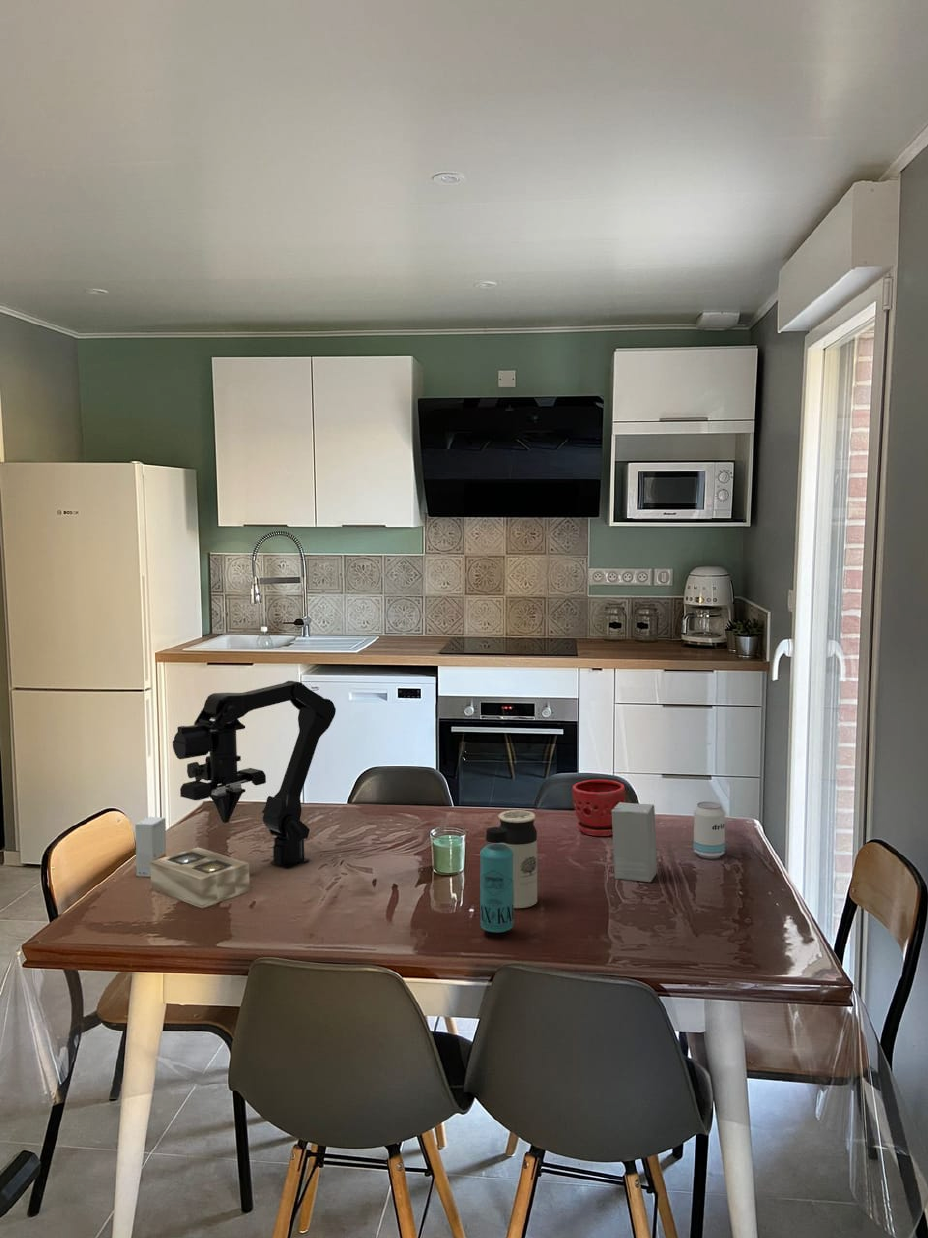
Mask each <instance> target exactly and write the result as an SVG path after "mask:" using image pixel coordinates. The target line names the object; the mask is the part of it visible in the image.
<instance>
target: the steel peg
mask: <svg viewBox="0 0 928 1238" xmlns="http://www.w3.org/2000/svg"><path fill="white" fill-rule="evenodd" d="M195 859H197V858H196V857H195V856H184V857H180V858H178V859H177V861H179V862H182V863H186V862H189V861H192V860H195Z"/></svg>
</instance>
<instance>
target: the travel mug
mask: <svg viewBox="0 0 928 1238" xmlns="http://www.w3.org/2000/svg"><path fill="white" fill-rule="evenodd" d="M498 819H499V822H500V823H499V827H503V828H506V829H507V833H508V841H507V842H504V843H497V844H504V845H507V846H508V847H509V848H510V849H511V850H512V851H513V852H514V856H513V881H514V909H526V908H530V907H532V906H534V905H535V904H537V902H538V830H537V829H536V826H535V824H534V822H535V819H536V814H535V813H534V812H531V811H529V810H528V811H527V810H521V809H519V810H517V809H512V810H506V811H502V812H500V813H499V814H498Z"/></svg>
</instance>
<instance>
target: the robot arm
mask: <svg viewBox="0 0 928 1238" xmlns="http://www.w3.org/2000/svg"><path fill="white" fill-rule="evenodd" d="M284 702H285V703H286V702H290V703H291V704H292V706H293V707H294V708H296V709H297V710H298V715H297V716H298V717H297V723H298V730H299V731H298V735H297V738H296V741H295V743H294V747H293V750H292V753H291V755H290V759H289V762H288V765H287V768H286V769H285V774H284V777H283V780H282V782H281V786H280V788H279V790H278V792H277V793H276V794H275V795H274V796H271V795H268V796H267V798H266V802H265V806H264V808H263V810H262V811H261V813H262V814H263V815H262V822H263V823H264V827H266V828H267V829H268V831H269V834H270V835H271V836H275V837H274V840H273V842H274V844H273V846H272V850H273V860H270V864H272V865H275V866H279V867H282V868H285V869H291V868H295V867H298V866H300V865H303V864H306V863H308V862H310V859H309V858H307V857H305V840H306V839H308V837H309V835H310V831H311V829H310V828H309V827H308V825H306V824H304V823H303V822H302V821H301V817H302V811H303V809H302V802H301V796H302V791H303V790H304V786H305V783H306V781H307V777H308V774H309V771H310V768H311V764H312V762H313V759H314V756H315V753H316V749H317V748H318V747H317V746H318V744H319V740H320V738H321V737H322V736H323V734H324V733H325V732H327V730H328V729H329V728H330V726H331V724H332V722H333V720H334V718H335V715H336V706H335V704H334V702H333V701H332V700H331V699H329V698H324V697H323V696H321V695H320V694H319V693H316V692H315V691H313V690H312V689H310V688H308V687H307V686H306V685H305V684H304V683H303V682H300V681H294V680H287V681H285V682H283V683H278V684H274V685H270V686H265V687H260V688H257V689H253V690H247V691H245V692H215V693H212V694H209V695H208V696H207V697H206V700H205V702H204V704H203V708H202V709H201V711H200V713H199V714H198V716H197V718H196V720H194V722H193V725H181V726H180V725H179V726H177V729H176V730H177V731H176V733H175V734H174V738H173V741H172V749H173V752H174V756H176V758H177V759H178V760H185V759H191V758H197V757H201V756H205V760H204V761H205V763H203V764H200V763H199V762H198V761H194V762H190V763H187V766H186V773H187V776H188V778H189V779H193V778H194V781H189V782H185V783H183V784H182V785H181V786H180V788H179V790H180V794H179V795H180V797H181V798H184V799H187V800H192V801H200V800H205V799H209V798H210V799H211V800H212V801H213V803H214V805H215V807H216V810H217V812H218V814H219V815H218V816H219V817H220V819H221V822H222V823H224V824H227V823H229V821H230V820H231V817H232V815H233V813H234V811H235V808H236V807H237V804H238V802H239V801H240V798H241V797H242V795H243V793H246V789H245V788H242V784H245V783H250V782H251V783H252V784H253V785H254V786H260V785H264V784H266V783H267V780H266V779H267V775H266V774H265V771H264V770H261V769H257V768H252V767H248V768H244V769H240V770H238V762H241V760H242V757H241V755H238V747H237V745H238V744H237V743H238V742H237V731H241V730H244V729H246V726H245V725H244V724H243V723H242V722H240V720H239V719H240V718H242V717H243V718H244V716H245V715H246V714H248V713H249V712H252V711H253V710H257V709H262V708H265V707H266V708H267V707H269V706H273V705H278V704H281V703H284ZM208 753H209V755H208ZM206 755H207V756H206ZM201 780H203V781H201ZM204 781H207V782H204Z"/></svg>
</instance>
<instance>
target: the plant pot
mask: <svg viewBox="0 0 928 1238" xmlns="http://www.w3.org/2000/svg"><path fill="white" fill-rule="evenodd" d="M625 787H626V786H625V785H624V784H623V783H622V782H620V781H616V780H610V779H588V780H583V781H578V782H577V783H575V784H574V785H573V786H572V802H573V808H574V811H575V812H574V813H575V814H576V817H577V819H578V822H577V824H576V825H577V828H578V830H579V831H581V832H582V833H583V834H586V835H588V836H589V835H590V836H593V837H594V836H597V837H608V836H609V837H610V836H613V828H612V810H613V809H614V807H615V806H616V805H617V804H618V803H619V802H623V803H626V789H625Z"/></svg>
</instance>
